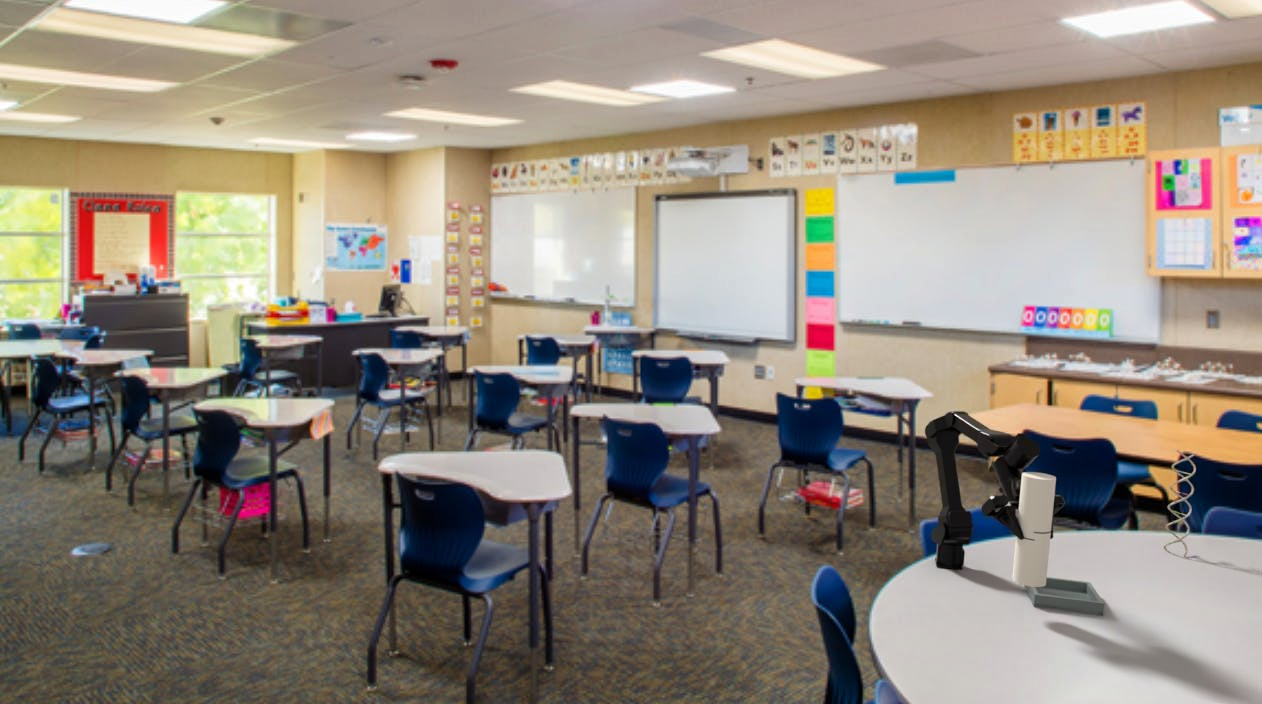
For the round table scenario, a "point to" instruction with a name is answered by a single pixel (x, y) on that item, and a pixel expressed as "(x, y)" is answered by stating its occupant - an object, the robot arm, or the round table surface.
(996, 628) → the round table surface
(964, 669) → the round table surface
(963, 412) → the robot arm
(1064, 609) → the tray
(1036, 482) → the cylindrical container
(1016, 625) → the round table surface
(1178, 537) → the dna model
